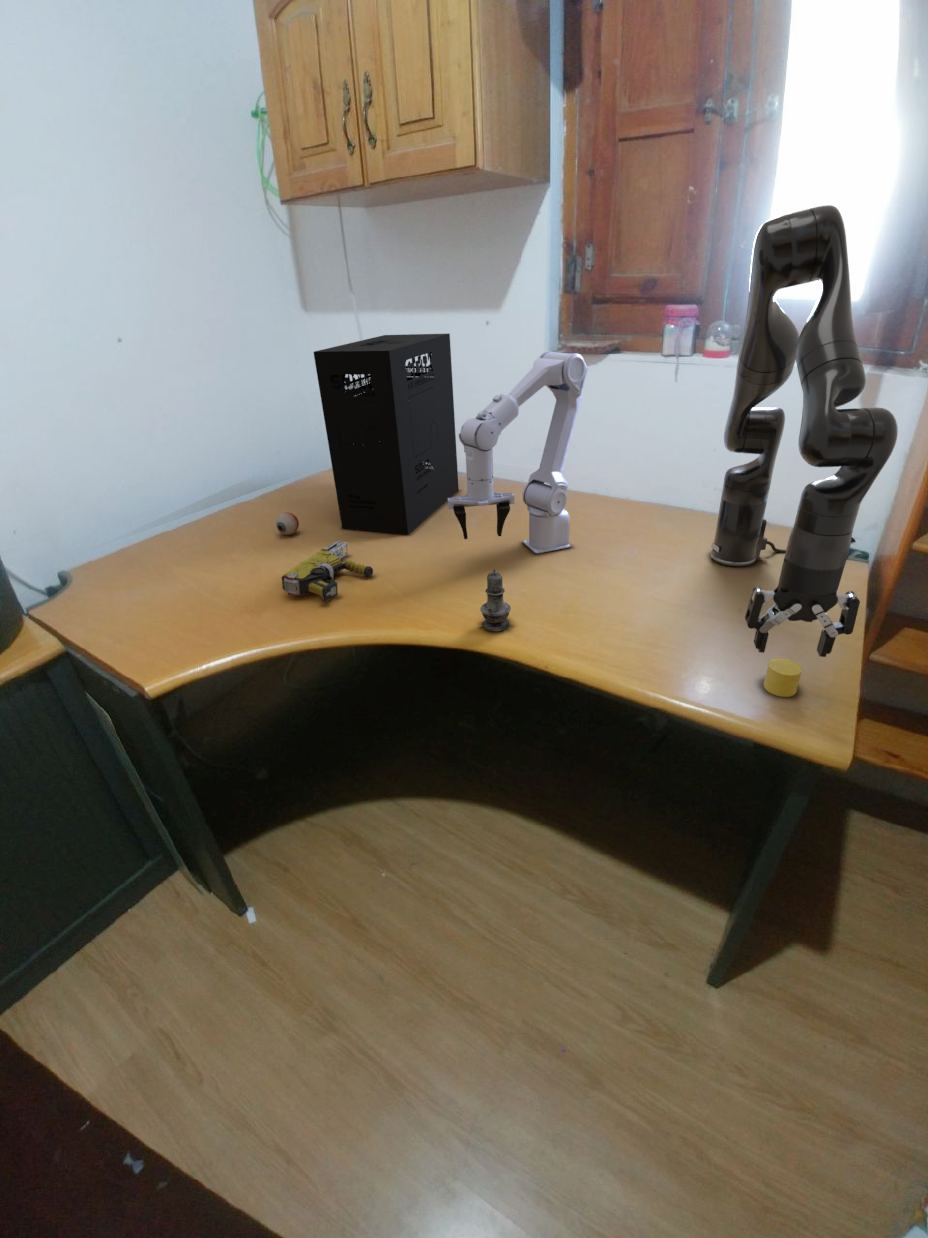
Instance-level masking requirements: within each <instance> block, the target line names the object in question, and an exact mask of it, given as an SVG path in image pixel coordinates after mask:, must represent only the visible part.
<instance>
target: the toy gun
mask: <svg viewBox="0 0 928 1238" xmlns="http://www.w3.org/2000/svg"><path fill="white" fill-rule="evenodd" d="M345 548H348V543H347V542H346V541H343V540H342V541H341V540H339V539H338V540H335V541H334V542H333V543H331V544H330V545H327V546H326V547H325V548H321V549H320V550H318V551H317V552H316V553H314V554H312V555H311V556H310V557H307V559H305V560H304V561H302V562H300V563H299V564H298V565H296V566H294V567H293V568H291V569H290V570H288V571H287V572H285V573H284V574H282V576H281V585H282V586H281V587H282V590H283V591H284V592H285V593H287V596H292V597H295V596H302V597H303V596H307V595H310V594H315V595H318V596H320V597H322V601H323V602H325V603H327V602H328V601H330V600H332V599H333V598H335V597H337V596H338V594H339V593H338V582H337V581H336V580H334V578H335V577H334V575H336V574H337V573H340V572H342V571H343V570H346V571H349V572H353V573H355V574H358V575H361V576H364V577H366V578H370V577H372V576H373V575H374V569H373V567H372V566H370V565H365V564H361V563H359V562H357V561H352V560H349V559H347V560H345V561H344V562H342V560H343V558H344V557H347V556H348V554H349V553H348V549H346V552H344V549H345Z"/></svg>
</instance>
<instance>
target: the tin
mask: <svg viewBox="0 0 928 1238" xmlns="http://www.w3.org/2000/svg"><path fill="white" fill-rule="evenodd" d="M802 672H803V668H802V666H801V665H800V664H799V663H797V662H796V661H794V660H792V659H788V658H782V657H780V658H779V657H777V658H772V659H771V660H770V661H769V662H768V665H767V668H766V673H765V677H764V681H763V689H764V690H766V692H768V693H770V694H771V695H774V696H777V697H779V698H789V697H793V696H795V695H796V693H797V691H798V686H799V683H800V680H801V676H802Z"/></svg>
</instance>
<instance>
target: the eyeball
mask: <svg viewBox="0 0 928 1238" xmlns="http://www.w3.org/2000/svg"><path fill="white" fill-rule="evenodd" d="M299 525H300V522H299V519H298V517H297V516H296V515H295V514H294V513H292V512H287V511H286V512H282V513H280V514H279V515H278V516H277V517H276V520H275V527H276V529H277V530H278V531H279V532H280V533H281V534H282V535H285V536H286V535H287V536H289V535H293V534H295V533H296V532H297V531H298V529H299Z"/></svg>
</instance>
